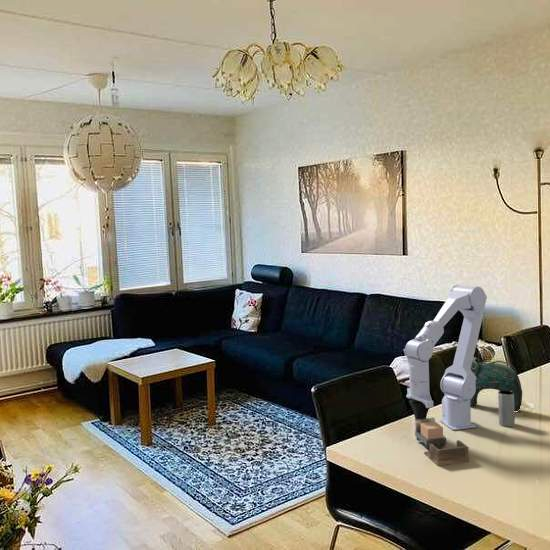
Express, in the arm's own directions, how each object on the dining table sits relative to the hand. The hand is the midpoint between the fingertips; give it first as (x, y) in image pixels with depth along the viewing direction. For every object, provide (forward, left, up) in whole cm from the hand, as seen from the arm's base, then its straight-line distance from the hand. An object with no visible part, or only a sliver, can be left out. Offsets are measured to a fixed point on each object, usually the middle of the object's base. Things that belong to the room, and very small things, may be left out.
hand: (420, 424), depth 176 cm
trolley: (+7, 0, -4) cm, 8 cm away
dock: (+16, 0, -4) cm, 17 cm away
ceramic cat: (-17, +33, -4) cm, 38 cm away
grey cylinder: (-1, +29, -4) cm, 29 cm away
